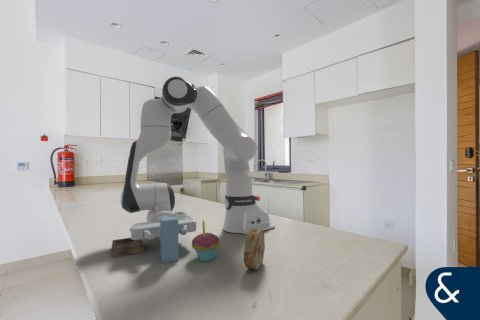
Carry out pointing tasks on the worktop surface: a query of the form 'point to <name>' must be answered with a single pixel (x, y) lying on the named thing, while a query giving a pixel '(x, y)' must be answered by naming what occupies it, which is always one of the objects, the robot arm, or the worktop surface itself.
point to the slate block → (169, 239)
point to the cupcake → (205, 245)
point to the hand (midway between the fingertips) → (168, 234)
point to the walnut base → (126, 247)
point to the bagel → (254, 249)
